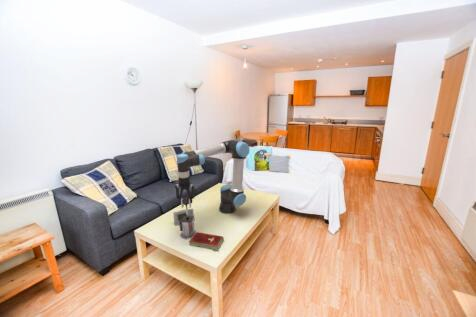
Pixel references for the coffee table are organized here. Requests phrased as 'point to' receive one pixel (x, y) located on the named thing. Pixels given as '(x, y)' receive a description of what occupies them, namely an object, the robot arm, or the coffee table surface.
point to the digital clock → (182, 215)
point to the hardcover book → (206, 240)
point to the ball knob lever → (186, 202)
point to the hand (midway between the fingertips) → (186, 207)
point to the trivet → (186, 237)
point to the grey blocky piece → (187, 226)
